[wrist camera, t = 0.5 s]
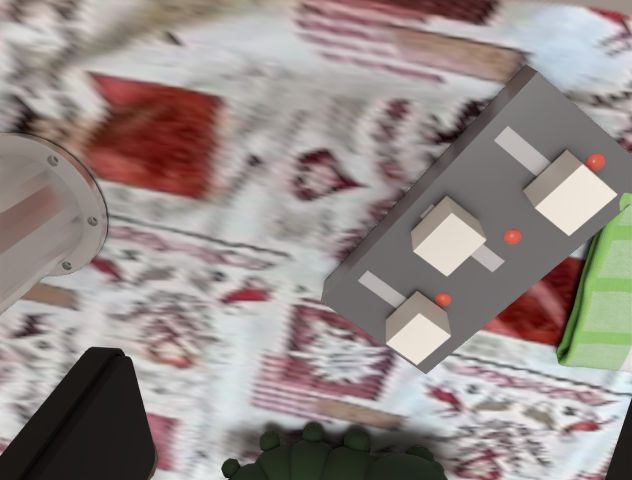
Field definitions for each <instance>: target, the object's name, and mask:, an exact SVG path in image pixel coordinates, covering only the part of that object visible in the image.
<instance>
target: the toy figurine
mask: <svg viewBox="0 0 632 480" xmlns="http://www.w3.org/2000/svg"><path fill="white" fill-rule="evenodd" d="M323 435H324V433H323V431H322V430H321V428H320V426H319V425H316V424H310V425H307V426H306V428H305V429H304V431H303V433H302V436H303V441H300V442H297V443H295V444H294V445H293V446H292V447H290V448H289V447H286V446H280V437H279V435H278V434H277V433H275V432H273V431H267V432H265V433H264V434H263V435H262V436H261V437H260V447H261V450H263V451H264V452H263V453H262V454H261V455H260V456H259V457H258V458H257V460H256V462H255V463H252V464H247V465H245V466H243V467H240V465H239V463H238V461H237V460H236V459H231V458H229V459H228V460H226V461H225V462H224V464H223V466H222V468H221V470H222V472H223V475H224V476H225V478H229V479H228V480H448V479H447V478H446V476H445V475H444V469H443V467H442V465H441V464H440V463H438V462H435V460H434V457H433V454H432V453H431V452H430V451H429V450H428V449H427V448H424V447H421V446H420V447H413V448H411V449H409V450H408V451H407V452H406V454H392V455H388V456H385V457H382V458H380V459H378V460H376V459H375V458H374V457H373V456H372V455H370V454H369V452H370V443H369V437H368V436H367V435H366V434H365V433H363V432H362V431H360V430H352V431H351V432H350V433H349V434H348V435H346V436H345V437H344V446H343V447H339V448H336V449H333V448H332V447H331V446H329V445H328V444H326V443H324V442H322V439H323Z"/></svg>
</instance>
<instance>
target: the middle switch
mask: <svg viewBox="0 0 632 480" xmlns="http://www.w3.org/2000/svg"><path fill="white" fill-rule="evenodd" d="M411 237H412V246H413V251H414V252H415V253H416V254H418V255H419V256H420V257H422V258H423V259H424V260H426V261H427V262H428V263H430V264H431V265H432V266H433V267H435V268H436V269H437V270H439V271H440V272H441V273H443V274H444V275H445V276H448V275H450V274H451V273H452V272H453V271H454V270H455V269H456V268H457V267H458V266H459V265H460V264H461V263H462V262H464V261H465V260H466V259H467V258H468V257H469V256H470V255H471V254H472V253H473V252H474V251H475V250H477V249H478V248H479V247H480V246H481V245H482V244H483V243H484V242H485V241H486V237H485V235H484V232H483V230H482V227H481V225H480V222H479V221H478V220H477V219H476V218H474V217H473V216H472V215H471V214H469V213H468V212H467V211H466V210H464V209H463V208H462V207H461V206H459V205H458V204H457V203H456V202H454V201H453V200H452V199H450V198H449V197H448V196H446V197H445V198H444V199H443V200H442V201H441V202H440V203H439V204H438V205H437V206H436V207H435V208H434V209H433V210H432V211H431V212H430V213H429V214H428V215H427V216H426V217H425V218H424V219H423V220H422V221H421V222H420V223H419V224H418V225H417V226H416V227H415V228H414V229H413V230H412V231H411Z"/></svg>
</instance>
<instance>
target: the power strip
mask: <svg viewBox="0 0 632 480" xmlns="http://www.w3.org/2000/svg"><path fill="white" fill-rule="evenodd" d="M566 150H568V151H569V152H570V153H571V154H572V155H574V156H575V157H576V158H577V159H578V160H579V161H580V162H582V163H583V164H584V165H585V166H586V167H587V168H589V169H590V170H591V171H592V172H593V173H594V174H596V175H597V176H598V177H599V178H600V179H601V180H602V181H603V182H604V183H606V184H607V185H608V186H609V187H610V188H611V189H612V190H613V191H614V192H615V193H617V194H618V195H617V196H616V197H614V198H613V199H612V200H611V201H610V202H609V203H607V204H606V205H605V206H604V207H603V208H602V209H600V210H599V211H598V212H597V213H596V214H594V215H593V216H592V217H591V218H590V219H589V220H587V221H586V222H585V223H584V224H583V225H582V226H580V227H579V228H578V229H577V230H576V231H574V232H573V233H572V234H571V235H570V236H568V235H567V234H566V233H565V232H563V231H562V230H561V229H560V228H558V227H557V226H556V225H555V224H554V223H552V222H551V221H550V220H549V219H547V218H546V217H545V216H544V215H543V214H541V213H540V212H539V211H538V210H537V209H535V208H534V206H533V205H532V203H531V202H530V200H529V199H528V197H527V196H526V194H525V193H524V191H523V190H524V189H525V188H527V187H528V186H529V185H530V184H531V183H532V182H533V181H534V180H535V179H536V178H537V177H538V176H539V175H540V174H541V173H542V172H544V171H545V170H546V169H547V168H548V167H549V166H550V165H551V164H552V163H553V162H554V161H555V160H556V159H557V158H558V157H559V156H561V155H562V154H563V153H564V152H565V151H566ZM624 193H630V194H632V155H631V154H630V153H628V152H627V151H626V150H625V149H624V148H623V147H622V146H621V145H620V144H618V143H617V142H616V141H615V140H614V139H613V138H612V137H611V136H609V135H608V134H607V133H606V132H605V131H604V130H603V129H602V128H600V127H599V126H598V125H597V124H596V123H595V122H594V121H593V120H592V119H590V118H589V117H588V116H587V115H586V114H585V113H584V112H583V111H581V110H580V109H579V108H578V107H577V106H576V105H575V104H574V103H572V102H571V101H570V100H569V99H568V98H567V97H566V96H565V95H563V94H562V93H561V92H560V91H559V90H558V89H557V88H556V87H555V86H553V85H552V84H551V83H550V82H549V81H548V80H547V79H546V78H544V77H543V76H542V75H541V74H540V73H539V72H538V71H536V70H534V69H532V68H531V67H529V66H527V65H525V66H524V67H523V68H522V69H521V70H520V71H519V72H518V73H517V75H516V76H515V77H514V78H513V79H512V80H511V81H510V82H509V83H508V84H507V85H506V86H505V87H504V89H503V90H502V91H501V92H500V93H499V94H498V95H497V96H496V97H495V98H494V99H493V100H492V102H491V103H490V104H489V105H488V106H487V107H486V108H485V109H484V110H483V111H482V112H481V113H480V114H479V116H478V117H477V118H476V119H475V120H474V121H473V122H472V123H471V124H470V125H469V126H468V127H467V128H466V130H465V131H464V132H463V133H462V134H461V135H460V136H459V137H458V138H457V139H456V140H455V141H454V142H453V144H452V145H451V146H450V147H449V148H448V149H447V150H446V151H445V152H444V153H443V154H442V155H441V156H440V158H439V159H438V160H437V161H436V162H435V163H434V164H433V165H432V166H431V167H430V168H429V169H428V170H427V172H426V173H425V174H424V175H423V176H422V177H421V178H420V179H419V180H418V181H417V182H416V183H415V184H414V186H413V187H412V188H411V189H410V190H409V191H408V192H407V193H406V194H405V195H404V196H403V197H402V198H401V200H400V201H399V202H398V203H397V204H396V205H395V206H394V207H393V208H392V209H391V210H390V211H389V213H388V214H387V215H386V216H385V217H384V218H383V219H382V220H381V221H380V222H379V223H378V224H377V225H376V227H375V228H374V229H373V230H372V231H371V232H370V233H369V234H368V235H367V236H366V237H365V238H364V239H363V241H362V242H361V243H360V244H359V245H358V246H357V247H356V248H355V249H354V250H353V251H352V252H351V253H350V255H349V256H348V257H347V258H346V259H345V260H344V261H343V262H342V263H341V264H340V265H339V266H338V267H337V269H336V270H335V271H334V272H333V273H332V274H331V275H330V276H329V277H328V278H327V279H326V280H325V282H324V288H323V293H322V298H321V302H323V303H324V304H326V305H327V306H329V307H330V308H331V309H333V310H334V311H336V312H337V313H339V314H340V315H342V316H343V317H344V318H346V319H347V320H349V321H350V322H352V323H353V324H355V325H356V326H357V327H359V328H360V329H362V330H363V331H365V332H366V333H367V334H369V335H370V336H372V337H373V338H375V339H376V340H378V341H379V342H380V343H382V344H383V345H385V346H386V347H388V348H389V349H391V350H392V351H393V352H395V353H396V354H398V355H399V356H401V357H402V358H403V359H405V360H406V361H408V362H409V363H411V364H412V365H414V366H415V367H416V368H418V369H419V370H421V371H422V372H424V373H425V374H427V373H428V372H429V371H430V370H432V369H433V368H434V367H435V366H436V365H438V364H439V363H440V362H441V361H442V360H444V359H445V358H446V357H447V356H448V355H450V354H451V353H452V352H453V351H454V350H456V349H457V348H458V347H459V346H461V345H462V344H463V343H464V342H465V341H467V340H468V339H469V338H470V337H471V336H473V335H474V334H475V333H476V332H477V331H479V330H480V329H481V328H482V327H483V326H485V325H486V324H487V323H488V322H489V321H491V320H492V319H493V318H494V317H496V316H497V315H498V314H499V313H500V312H502V311H503V310H504V309H505V308H506V307H508V306H509V305H510V304H511V303H512V302H514V301H515V300H516V299H517V298H518V297H520V296H521V295H522V294H523V293H524V292H526V291H527V290H528V289H529V288H530V287H532V286H533V285H534V284H535V283H537V282H538V281H539V280H540V279H541V278H543V277H544V276H545V275H546V274H547V273H549V272H550V271H551V270H552V269H553V268H555V267H556V266H557V265H558V264H559V263H561V262H562V261H563V260H564V259H565V258H567V257H568V256H569V255H570V254H572V253H573V252H574V251H575V250H576V249H578V248H579V247H580V246H581V245H582V244H584V243H585V242H586V241H587V240H588V239H590V238H591V237H592V236H593V235H594V234H596V233H597V232H598V231H599V230H600V229H602V228H603V227H604V226H605V225H606V224H608V223H609V222H610V221H611V220H613V219H614V218H615V217H616V216H617V215H619V214H620V213H621V212H622V210H621V211H620V204H619V203H620V199H621V197H622V196H623V194H624ZM446 196H448V197H449V198H450V199H452V200H453V201H454V202H456V203H457V204H458V205H459V206H461V207H462V208H463V209H464V210H466V211H467V212H468V213H469V214H471V215H472V216H473V217H474V218H476V219H477V220H478V221H479V222H480V225H481V227H482V230H483V232H484V235H485V237H486V241H485V242H484V243H483V244H482V245H481V246H480V247H479V248H478V249H477V250H475V251H474V252H473V253H472V254H471V255H470V256H469V257H468V258H467V259H466V260H465V261H464V262H462V263H461V264H460V265H459V266H458V267H457V268H456V269H455V270H454V271H453V272H452V273H451V274H450V275H448V276H445V275H444V274H443V273H441V272H440V271H439V270H437V269H436V268H435V267H433V266H432V265H431V264H430V263H428V262H427V261H426V260H424V259H423V258H422V257H420V256H419V255H418V254H416V253H415V252H414V251H413V246H412V237H411V231H412V230H413V229H414V228H415V227H416V226H417V225H418V224H419V223H420V222H421V221H422V220H423V219H424V218H425V217H426V216H427V215H428V214H429V213H430V212H431V211H432V210H433V209H434V208H435V207H436V206H437V205H438V204H439V203H440V202H441V201H442V200H443V199H444V198H445V197H446ZM629 205H631V204H627V205H626V206H625V207H624V209H623V210H625V209H626V208H627V207H628V206H629ZM416 291H418V292H419V293H421V294H422V295H424V296H425V297H426V298H428V299H429V300H430V301H432V302H433V303H434V304H436V305H437V306H439V307H440V308H441V309H443V310H444V311H445V312H447V316H448V321H449V327H450V332H451V337H450V338H448V339H447V340H446V341H445V342H444V343H443V344H441V345H440V346H439V347H438V348H437V349H436V350H434V351H433V352H432V353H431V354H430V355H428V356H427V357H426V358H425V359H424V360H423V361H421V362H420V363H419V364H418V365H416V364H415V363H413V362H412V361H410V360H409V359H407V358H406V357H405V356H403V355H402V354H400V353H399V352H397V351H396V350H395V349H393V348H392V347H390V346H389V345H387V344H386V319H387V318H389V317H390V316H391V315H392V314H393V313H394V312H395V311H396V310H397V309H398V308H399V307H400V306H401V305H402V304H403V303H404V302H406V301H407V300H408V299H409V298H410V297H411V296H412V295H413V294H414V293H415V292H416Z"/></svg>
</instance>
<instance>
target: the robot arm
mask: <svg viewBox="0 0 632 480" xmlns="http://www.w3.org/2000/svg"><path fill="white" fill-rule="evenodd" d="M107 222H108V221H107V214H106V208H105V205H104V202H103V199H102V196H101V193H100V192H99V190H98V188H97V186H96V184H95V182H94V181H93V179H92V178H91V177H90V175H89V174H88V172H87V171H86V170H85V169H84V168H83V167H82V166H81V165H80V164H79V163H78V162H77V161H76V160H75V159H74V158H73V157H72V156H71V155H69V154H68V153H67V152H65V151H64V150H63V149H61V148H60V147H58V146H56V145H54V144H53V143H51V142H49V141H47V140H45V139H42V138H39V137H36V136H33V135H29V134H23V133H16V132H15V133H1V134H0V315H1V314H2V313H3V312H5V311H6V310H7V309H8V308H9V307H10V306H11V305H13V304H14V303H15V302H16V301H17V300H18V299H19V298H21V297H22V296H23V295H24V294H25V293H26V292H28V291H29V290H30V289H31V288H32V287H33V286H34V285H36V284H37V283H38V282H39V281H40V280H41V279H42V278H44V277H45V276H61V275H66V274H71V273H73V272H75V271H78V270H80V269H81V268H83V267H84V266H85V265H87V264H88V263H89V262H90V261H91V260H92V259H93V258H94V257H95V256H96V255H97V254H98V253H99V251H100V249H101V248H102V246H103V244H104V241H105V237H106V234H107ZM154 462H155V447H154V444H153V440H152V436H151V432H150V428H149V424H148V420H147V416H146V413H145V409H144V405H143V401H142V397H141V393H140V389H139V385H138V381H137V378H136V374H135V370H134V366H133V362H132V360H131V358H130V357H128V356H125V354H124V352H123V351H122V350H121V349H119V348H104V347H91V348H89V349H88V350H87V351H85V353H84V354H83V355H82V356H81V357H80V359H79V360H78V361H77V362H76V364H75V365H74V366H73V367H72V368H71V370H70V371H69V372H68V373H67V375H66V376H65V377H64V378H63V380H62V381H61V382H60V383H59V384H58V386H57V387H56V388H55V389H54V391H53V392H52V393H51V394H50V396H49V397H48V398H47V399H46V400H45V402H44V403H43V404H42V405H41V407H40V408H39V409H38V410H37V411H36V413H35V414H34V415H33V416H32V418H31V419H30V420H29V421H28V423H27V424H26V425H25V426H24V427H23V429H22V430H21V431H20V432H19V434H18V435H17V436H16V437H15V439H14V440H13V441H12V442H11V443H10V445H9V446H8V447H7V448H6V450H5V451H4V452H3V453H2V454H1V456H0V480H147V479H148V477H149V475H150V473H151V471H152V469H153V466H154ZM605 480H632V399H631V402H630V405H629V408H628V411H627V414H626V417H625V420H624V423H623V426H622V429H621V432H620V435H619V438H618V441H617V444H616V447H615V451H614V454H613V457H612V460H611V463H610V466H609V469H608V472H607V475H606V478H605Z"/></svg>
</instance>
